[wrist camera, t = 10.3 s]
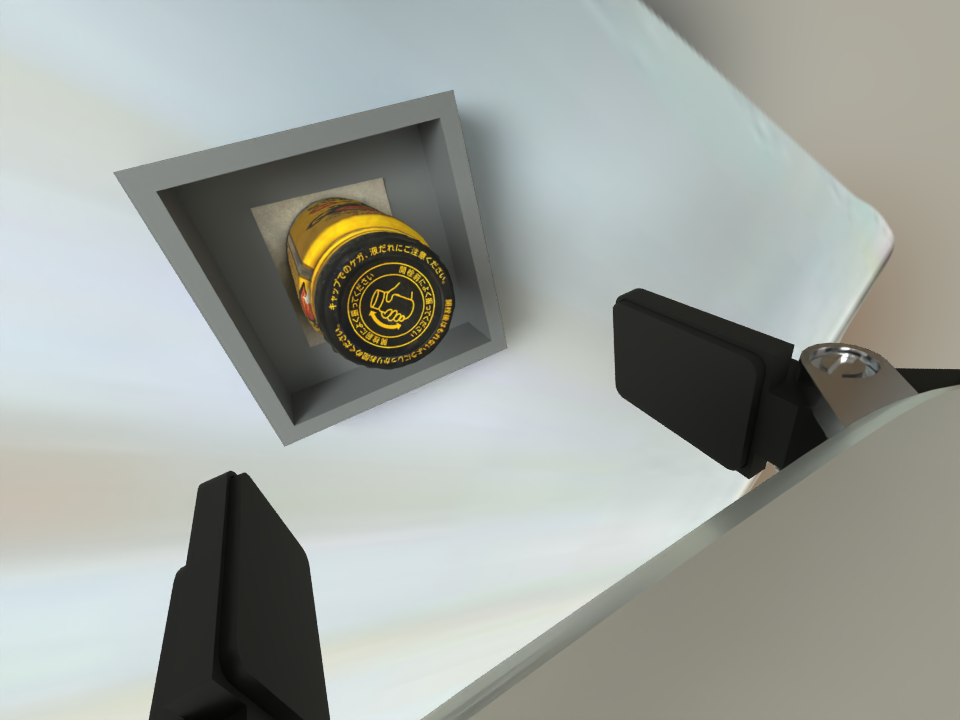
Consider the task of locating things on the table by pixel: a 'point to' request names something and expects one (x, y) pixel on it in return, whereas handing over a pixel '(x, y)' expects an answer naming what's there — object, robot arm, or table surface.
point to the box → (253, 275)
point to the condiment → (359, 275)
